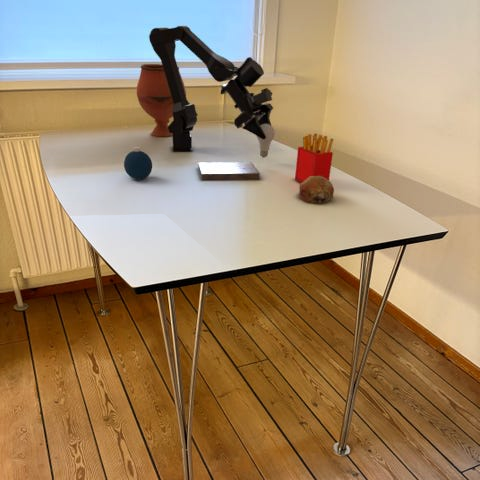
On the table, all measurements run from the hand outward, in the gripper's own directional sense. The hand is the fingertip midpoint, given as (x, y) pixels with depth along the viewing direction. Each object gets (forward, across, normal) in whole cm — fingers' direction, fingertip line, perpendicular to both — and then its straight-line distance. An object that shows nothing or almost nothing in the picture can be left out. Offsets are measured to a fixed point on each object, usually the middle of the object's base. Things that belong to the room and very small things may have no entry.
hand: (269, 136), depth 163 cm
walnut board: (+2, -17, +11) cm, 20 cm away
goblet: (-31, +16, +45) cm, 57 cm away
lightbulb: (+4, 0, +6) cm, 7 cm away
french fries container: (+21, -10, -8) cm, 24 cm away
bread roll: (+25, -23, -12) cm, 36 cm away
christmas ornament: (-11, -37, +25) cm, 46 cm away
